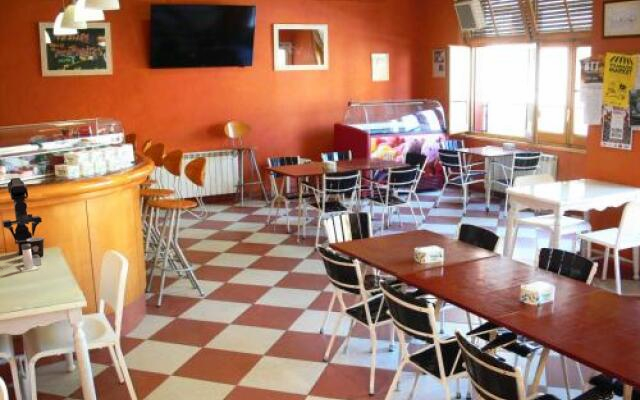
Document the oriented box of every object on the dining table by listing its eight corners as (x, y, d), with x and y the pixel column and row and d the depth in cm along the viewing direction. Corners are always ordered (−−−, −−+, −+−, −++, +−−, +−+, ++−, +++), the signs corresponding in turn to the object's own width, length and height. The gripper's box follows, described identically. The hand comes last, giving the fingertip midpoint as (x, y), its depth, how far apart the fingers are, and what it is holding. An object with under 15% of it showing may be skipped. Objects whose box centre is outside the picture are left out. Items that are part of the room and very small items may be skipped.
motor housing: (23, 264, 349) (22, 256, 348) (38, 261, 353) (37, 254, 353) (25, 267, 343) (25, 260, 342) (41, 264, 347) (40, 257, 346)
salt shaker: (23, 268, 341) (20, 244, 338) (32, 266, 343) (29, 243, 340) (25, 270, 337) (22, 246, 335) (34, 268, 339) (31, 244, 337)
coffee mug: (48, 254, 367) (46, 237, 365) (40, 259, 358) (38, 241, 356) (28, 254, 368) (26, 237, 366) (20, 259, 359) (18, 241, 357)
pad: (19, 268, 341) (19, 268, 341) (35, 266, 345) (35, 265, 345) (22, 272, 335) (22, 271, 335) (38, 269, 339) (38, 268, 339)
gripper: (3, 213, 339) (7, 243, 342) (42, 208, 349) (45, 237, 352) (0, 210, 348) (3, 239, 351) (37, 205, 358) (41, 233, 361)
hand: (23, 237), depth 353 cm, fingers open, 9 cm apart
